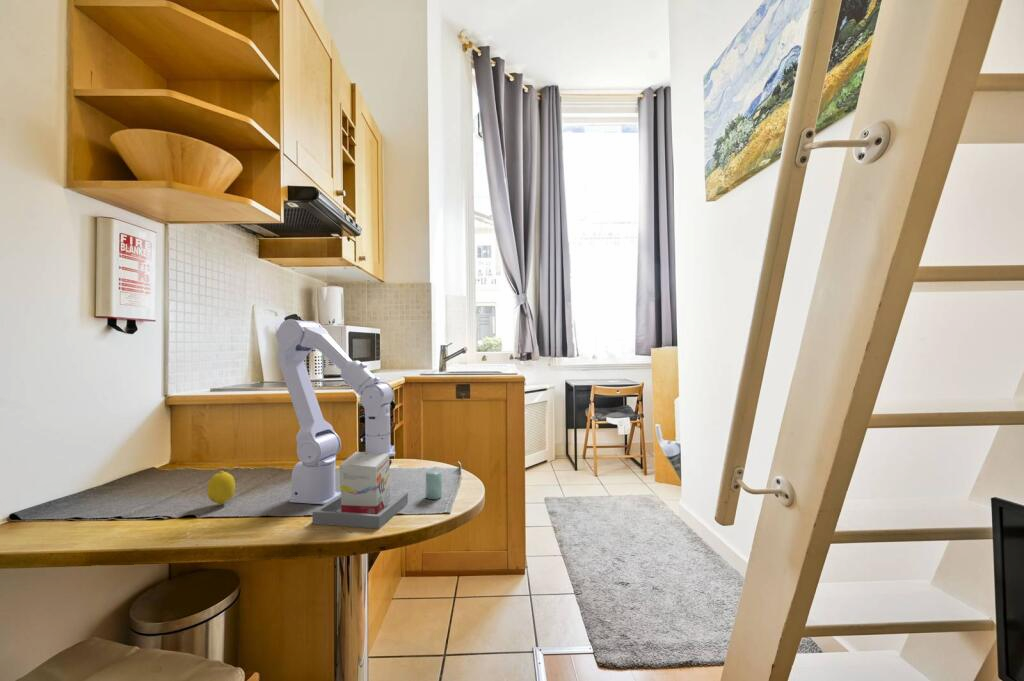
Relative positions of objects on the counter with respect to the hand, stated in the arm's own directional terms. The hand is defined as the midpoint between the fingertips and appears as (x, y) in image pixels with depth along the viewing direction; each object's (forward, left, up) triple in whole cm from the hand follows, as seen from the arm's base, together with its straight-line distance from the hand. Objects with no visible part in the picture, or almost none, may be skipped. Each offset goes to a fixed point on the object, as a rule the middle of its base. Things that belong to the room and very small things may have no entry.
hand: (379, 491), depth 110 cm
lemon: (-36, -8, -3) cm, 37 cm away
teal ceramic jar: (+11, +6, -3) cm, 13 cm away
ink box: (-1, -5, -3) cm, 5 cm away
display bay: (-1, -7, -3) cm, 7 cm away
